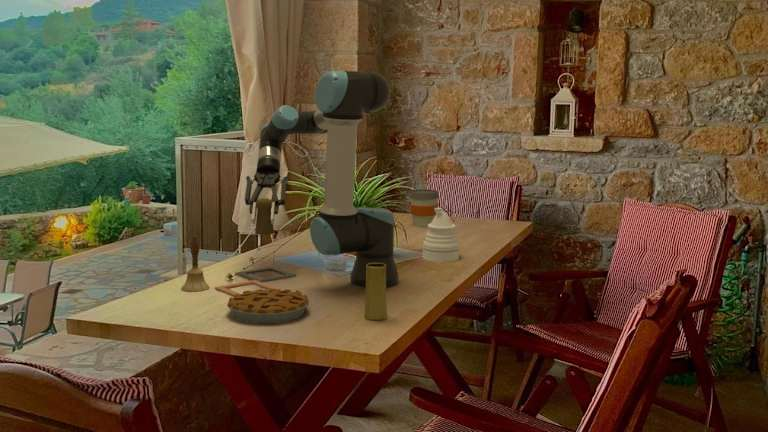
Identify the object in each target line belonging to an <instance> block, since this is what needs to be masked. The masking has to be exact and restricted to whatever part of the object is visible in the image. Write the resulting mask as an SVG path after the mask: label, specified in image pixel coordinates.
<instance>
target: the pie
mask: <svg viewBox="0 0 768 432" xmlns="http://www.w3.org/2000/svg"><path fill="white" fill-rule="evenodd" d="M227 302H228V303H227V305H226V306H227V308H229V310H230V311H231V313H232V316H233V317H234V318H235V319H236V320H237V319H239V320H238V321H241V320H243V321H242V322H245V321H248V322H247V323H252V322H258V323H257V324H277V323H276V322H280V323H286V322H285V321H288V322H291V321H294V320H296V318H297V319H298V318H300V317H301V316H303V314H304V312H305V310H306V308H307V307H308V306H309V304H310V299H308V296H307V294H303V293H302V292H300V291H299V290H296V291H292V290H291V289H284V290H282V289H280V290H277V289H272V288H271V289H270V290H267V289H263V288H262V289H261V288H260V289H256V290H253V291H251V290H244V291H243V292H242V293H240V294H235V295H234V297H233V296H231V297H230V298H229V299H228V301H227ZM293 319H294V320H293ZM290 320H291V321H290Z"/></svg>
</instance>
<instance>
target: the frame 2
mask: <svg viewBox="0 0 768 432" xmlns="http://www.w3.org/2000/svg"><path fill="white" fill-rule="evenodd" d="M268 271H271V272H272V271H273V272H275V273H277V274H280V275H275V276H271V277H270V276H269V277H265V278H259V277H256V276H253V275H251V274H257V273H262V272H268ZM234 274H235V276H238V277H241V278H243V279H246V280H248V281H252V280H257V281H259V282H262V283H268V282H272V281H278V280H284V279H289V278H294V277H297V274H295V273H293V272H290V271H287V270H285V269H280V268H278V267H275V266H268V267H262V268H257V269H255V268H254V269H250V270H249V269H248V270H244V271H237V272H235V273H234Z"/></svg>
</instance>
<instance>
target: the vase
mask: <svg viewBox="0 0 768 432" xmlns="http://www.w3.org/2000/svg"><path fill="white" fill-rule="evenodd" d="M387 303H388V301H387V287H386V264H383V263H369V264H367V265H366V287H365V301H364V319H366V320H370V321H382V320H385V319H387V318H388V313H387V312H388V311H387Z"/></svg>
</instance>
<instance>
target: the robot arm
mask: <svg viewBox="0 0 768 432" xmlns="http://www.w3.org/2000/svg"><path fill="white" fill-rule="evenodd" d="M390 98H391V88H390V85H389V82H388V81H387V79H386V78H385V77H384V76H383V75H381V74H380V73H378V72H375V71H369V70H366V71H363V70H362V71H361V70H360V71H358V70H356V71H355V70H354V71H353V70H342V69H340V70H332V71H327V72H325V73H324V74H323V75H322V76H321V77H320V78H319V80H318V82H317V84H316V88H315V93H314V100H315V103H316V107H317V109H314V110H311V111H303V110H302V111H297V110H296V108H294V107H293V106H289V105H288V104H287V105H285V104H284V105H280V106H279V107H278V108H277V109H276V110H275V112H274V113H273V115H272V117H271V119H270V121H269V122H266V123H264V124H263V125H262V127H261V131H260V132H259V133H260V134H259V146H258V153H257V154H258V156H257V162H256V171H255V174H254V175H253V176H249V175H247V176H245V178H246V188H245V193H244V203H245V205H247V206H249V214H250V215H251V223H252V225H256V220H257V211H258V209H257V207H256V201H257V200H258V199H259V197H260V195H261V192H262V191H263V190H264V189H266V188H268V189H271V192H272V193H271V194H272V197H273V201H274V202H273V201H272V208H271V224H273V225H275V218H276V217H275V216H276V215H278V214H279V207H280V206H285V205H286V195H287V194H286V191H287V185H288V184H289V180H288V179H289V178H288V176H286V175H285V176H284V177H283V176H281V175H280V171H281V161H282V151H283V150H282V149H283V144H284V143H285V141H286V140H287V138H288V137H289V136H291V135H294V136H295V135H313V134H314V135H317V134H318V135H322V134H326V152H325V153H326V155H325V156H326V157H325V175H324V176H325V178H324V180H325V181H324V198H323V199H324V201H323V202H324V203H323V204H322V205H321V206H320V207H319V208H318V216H316V217H314V218H312V220H311V222H310V225H309V233H310V238H311V242H312V244H313V246H314V247H315V249H316V251H318V253H320V254H321V255H324V256H338V255H342V254H343V255H344V254H351V253H356V254H355V260H354V263H353V266H352V271H351V273H350V275H349V279H350V280H349V281H350V283H351V285H355V286H357V287H362V288H363V287H364V288H366V265H367V264H369V263H383V264H386V288H387V287H388V288H389V287H392V286H395V285H398V284H399V282H400V279H399V278H400V275H399V273H398V269H397V264H396V262H395V258H394V241H395V240H394V239H395V238H394V235H395V219H394V214H393V212H391V211H390V210H387V209H384V208H375V207H366V206H365V207H363V206H362V207H355V205H354V198H355V197H354V194H355V174H356V158H357V154H356V153H357V152H356V151H357V135H358V125H359V124H360V123H361V122H362V121H363V119H364V114H367V115H370V114H374V113H377V112H379V111H381V110H382V109H384V108H385V107H386V106H387V105H388V103H389V102H390ZM254 182H256V187H255V189H254V191H253V193H252V187H253V184H254ZM279 182H280V185H281V187H280V199H279V198H278V197H279V196H278V194H277V189H276V186H277V184H278V183H279ZM251 195H252V196H251Z"/></svg>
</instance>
